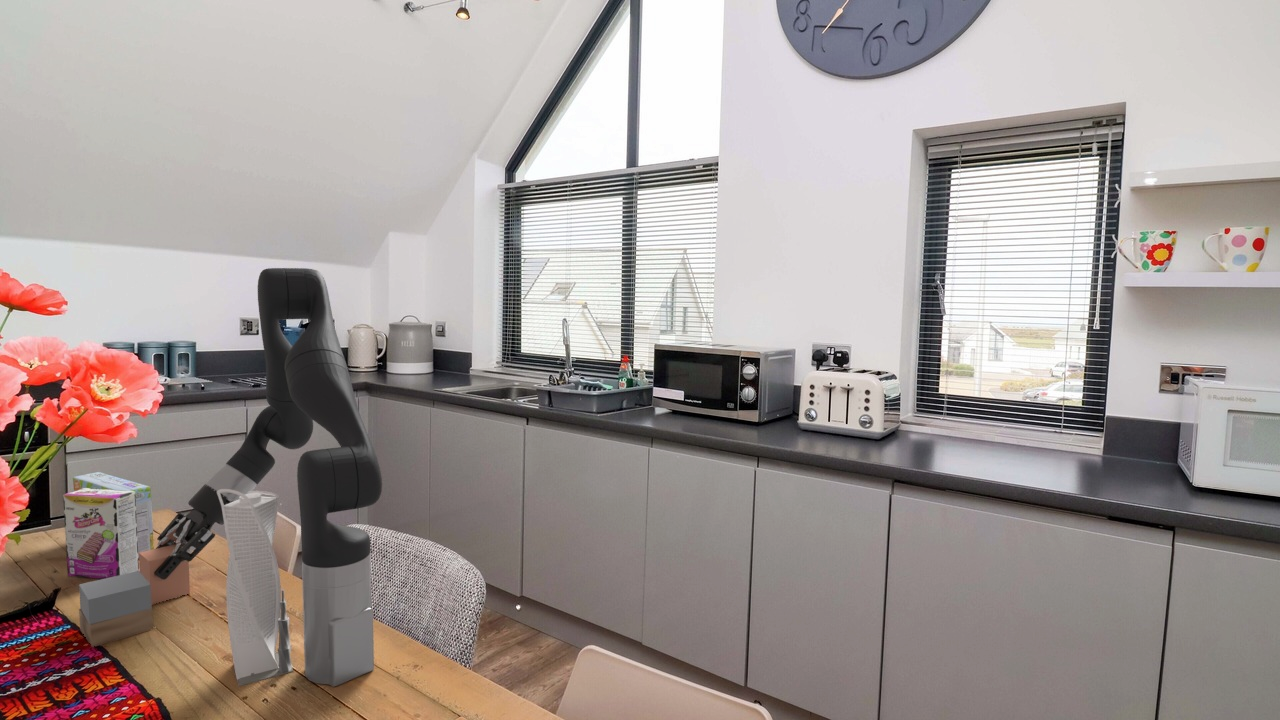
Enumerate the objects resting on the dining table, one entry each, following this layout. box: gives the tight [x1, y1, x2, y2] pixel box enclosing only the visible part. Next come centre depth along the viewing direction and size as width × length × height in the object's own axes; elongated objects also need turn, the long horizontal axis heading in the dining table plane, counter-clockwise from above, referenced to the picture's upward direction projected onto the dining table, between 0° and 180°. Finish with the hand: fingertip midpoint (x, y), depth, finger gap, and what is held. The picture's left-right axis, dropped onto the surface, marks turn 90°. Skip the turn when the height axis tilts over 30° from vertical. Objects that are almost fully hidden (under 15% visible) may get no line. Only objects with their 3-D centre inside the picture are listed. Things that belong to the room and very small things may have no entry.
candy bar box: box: [62, 488, 140, 580], centre depth 132 cm, size 11×5×16 cm, turn 84°
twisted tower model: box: [217, 489, 294, 687], centre depth 100 cm, size 8×8×28 cm
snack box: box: [72, 471, 155, 561], centre depth 145 cm, size 21×6×15 cm, turn 62°
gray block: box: [78, 570, 153, 625], centre depth 111 cm, size 8×8×4 cm
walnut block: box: [78, 607, 154, 648], centre depth 112 cm, size 8×8×4 cm
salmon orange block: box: [138, 545, 191, 606], centre depth 124 cm, size 6×6×8 cm
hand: (153, 571), depth 123 cm, fingers closed on salmon orange block, 6 cm apart
